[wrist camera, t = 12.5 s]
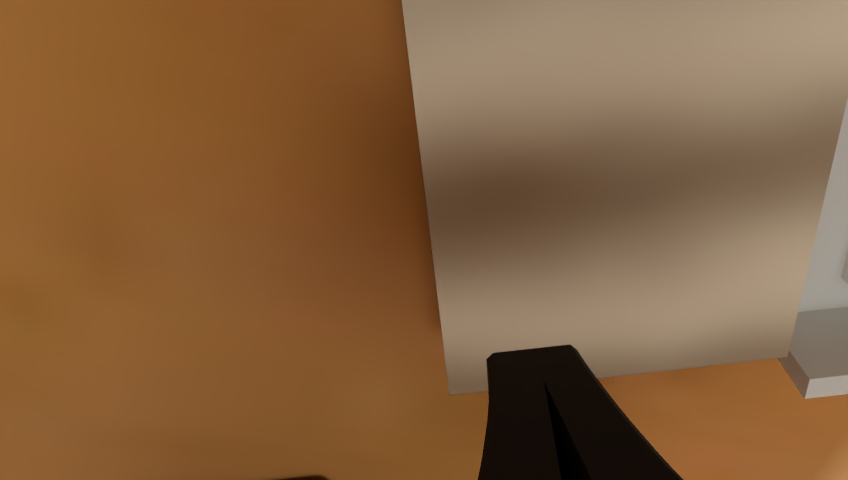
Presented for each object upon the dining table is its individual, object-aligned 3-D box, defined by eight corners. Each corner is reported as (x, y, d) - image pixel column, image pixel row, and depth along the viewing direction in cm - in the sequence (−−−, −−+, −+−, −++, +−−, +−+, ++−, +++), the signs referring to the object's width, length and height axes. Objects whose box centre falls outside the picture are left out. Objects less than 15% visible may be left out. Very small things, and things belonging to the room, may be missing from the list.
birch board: (744, 295, 24) (787, 357, 21) (442, 329, 24) (449, 395, 21) (814, -104, 17) (889, -83, 14) (396, -53, 17) (399, -23, 15)
